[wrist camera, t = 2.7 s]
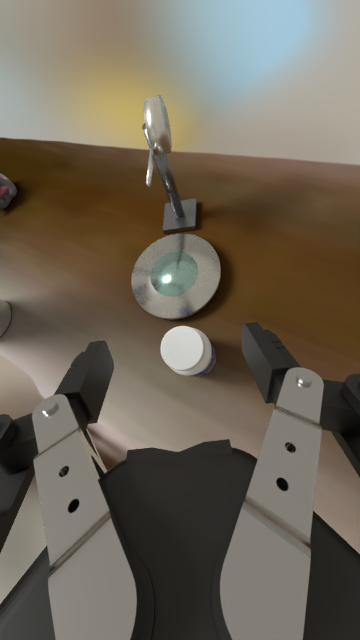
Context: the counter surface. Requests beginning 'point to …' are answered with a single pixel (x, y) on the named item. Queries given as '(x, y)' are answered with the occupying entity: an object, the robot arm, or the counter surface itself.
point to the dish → (176, 276)
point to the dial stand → (166, 167)
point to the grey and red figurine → (6, 191)
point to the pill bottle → (188, 351)
